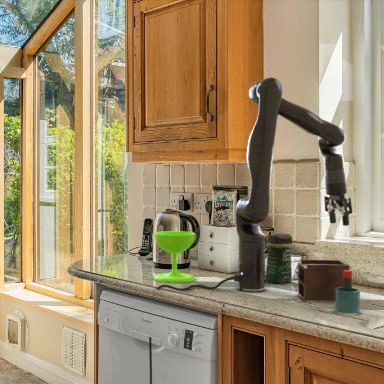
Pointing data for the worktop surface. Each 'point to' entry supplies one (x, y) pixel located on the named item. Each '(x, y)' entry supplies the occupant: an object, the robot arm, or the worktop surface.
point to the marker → (347, 280)
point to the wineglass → (174, 253)
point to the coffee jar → (279, 258)
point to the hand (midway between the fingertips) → (339, 224)
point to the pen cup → (347, 300)
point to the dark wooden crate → (320, 279)
